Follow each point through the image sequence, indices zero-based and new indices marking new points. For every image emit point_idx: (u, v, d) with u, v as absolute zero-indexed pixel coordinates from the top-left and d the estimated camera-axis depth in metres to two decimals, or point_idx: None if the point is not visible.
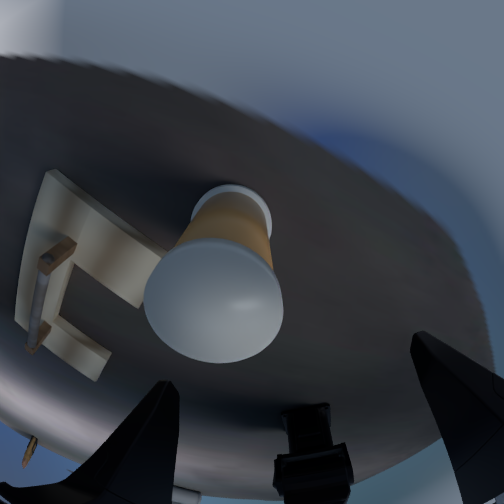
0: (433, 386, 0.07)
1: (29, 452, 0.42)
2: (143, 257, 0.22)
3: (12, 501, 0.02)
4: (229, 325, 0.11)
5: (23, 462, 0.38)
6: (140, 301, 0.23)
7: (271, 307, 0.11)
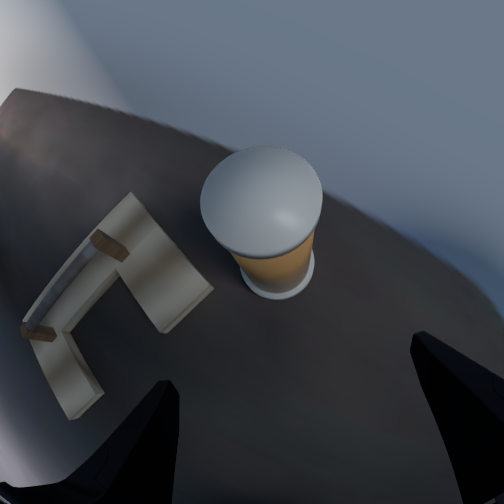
0: (433, 386, 0.07)
1: None
2: (187, 276, 0.23)
3: (12, 501, 0.02)
4: (273, 205, 0.13)
5: None
6: (166, 324, 0.22)
7: (312, 190, 0.13)
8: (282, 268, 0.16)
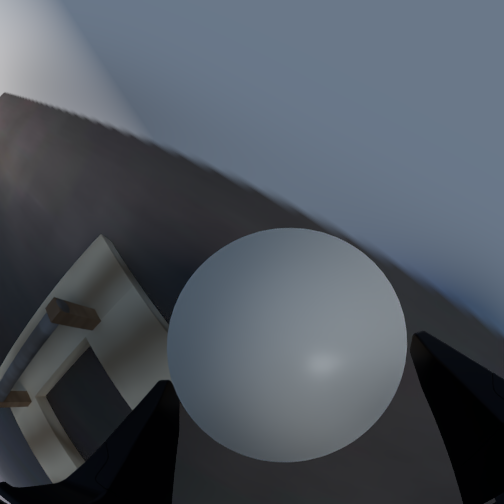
0: (433, 386, 0.07)
1: None
2: None
3: (12, 501, 0.02)
4: (313, 375, 0.06)
5: None
6: None
7: (389, 340, 0.06)
8: None
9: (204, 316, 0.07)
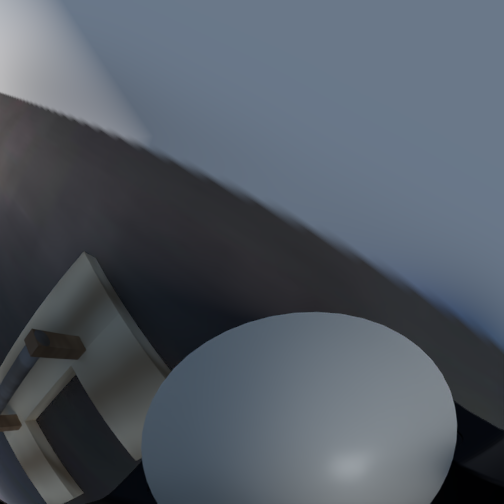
0: None
1: None
2: None
3: None
4: (335, 503, 0.03)
5: None
6: None
7: (434, 455, 0.03)
8: None
9: (187, 434, 0.04)
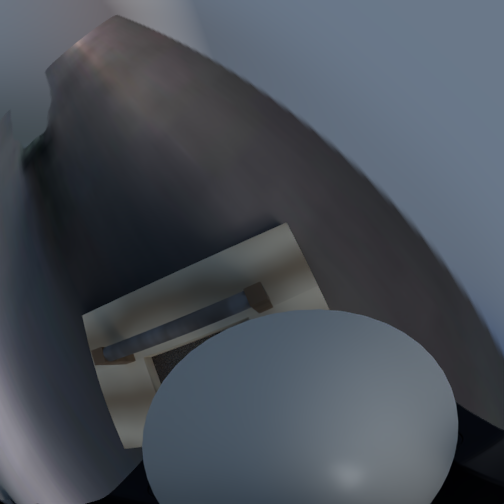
0: None
1: None
2: None
3: None
4: (336, 502, 0.03)
5: None
6: None
7: (436, 454, 0.03)
8: None
9: (189, 432, 0.04)
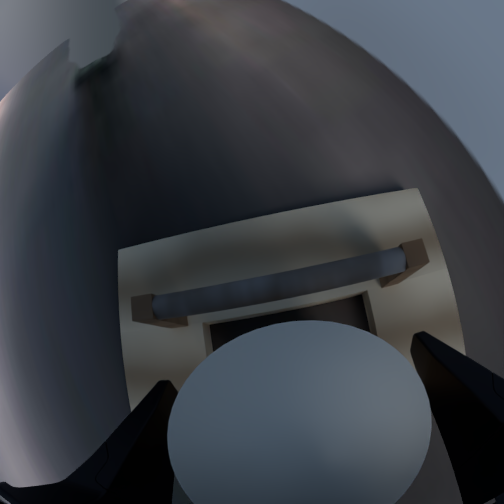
0: (433, 386, 0.07)
1: None
2: None
3: (12, 501, 0.02)
4: (329, 479, 0.04)
5: None
6: None
7: (412, 441, 0.04)
8: None
9: (208, 421, 0.05)
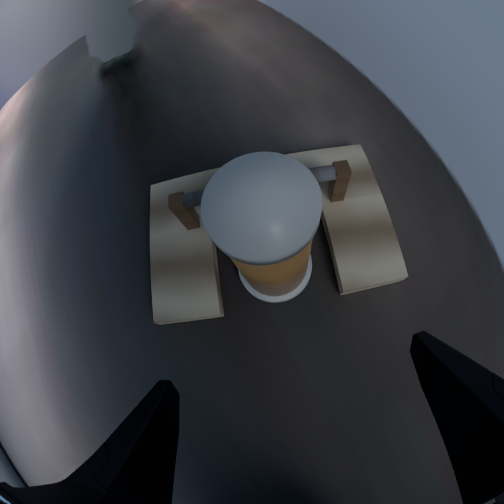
0: (433, 386, 0.07)
1: None
2: (393, 257, 0.22)
3: (12, 501, 0.02)
4: (273, 211, 0.13)
5: None
6: (353, 287, 0.21)
7: (312, 198, 0.13)
8: (280, 273, 0.16)
9: (221, 189, 0.13)
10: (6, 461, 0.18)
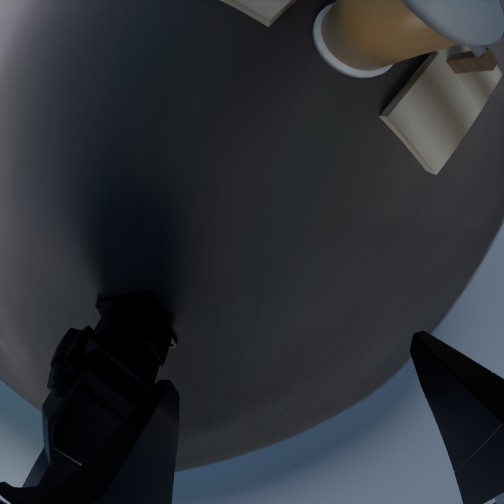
0: (433, 386, 0.07)
1: None
2: (443, 149, 0.16)
3: (12, 501, 0.02)
4: None
5: None
6: (398, 124, 0.16)
7: (492, 30, 0.04)
8: (388, 33, 0.08)
9: None
10: None
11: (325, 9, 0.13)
